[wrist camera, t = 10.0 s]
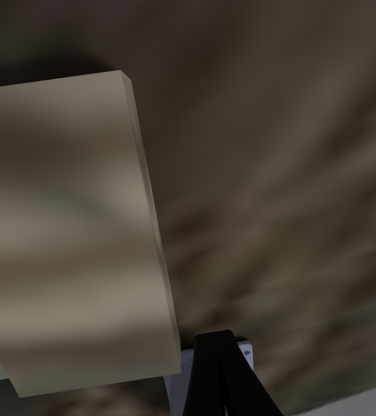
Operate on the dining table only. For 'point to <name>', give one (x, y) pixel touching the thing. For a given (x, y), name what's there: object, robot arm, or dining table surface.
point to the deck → (79, 240)
